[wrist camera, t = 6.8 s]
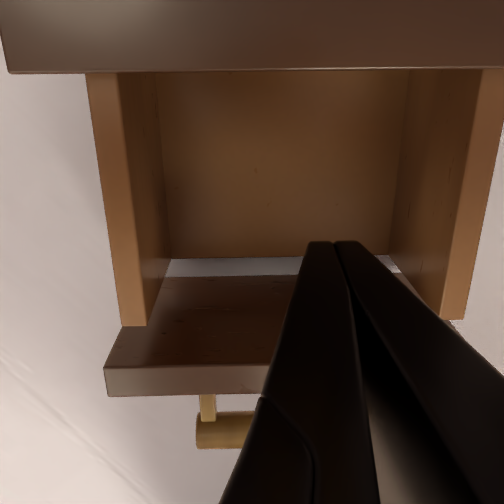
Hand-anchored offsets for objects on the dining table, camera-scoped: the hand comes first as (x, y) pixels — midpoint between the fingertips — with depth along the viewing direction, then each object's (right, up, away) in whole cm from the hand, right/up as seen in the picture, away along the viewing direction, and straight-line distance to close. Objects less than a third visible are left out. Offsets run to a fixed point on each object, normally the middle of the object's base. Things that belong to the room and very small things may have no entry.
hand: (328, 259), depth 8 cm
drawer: (0, +2, +11) cm, 11 cm away
